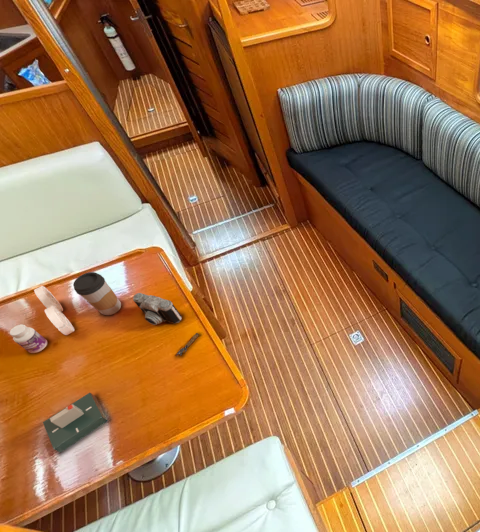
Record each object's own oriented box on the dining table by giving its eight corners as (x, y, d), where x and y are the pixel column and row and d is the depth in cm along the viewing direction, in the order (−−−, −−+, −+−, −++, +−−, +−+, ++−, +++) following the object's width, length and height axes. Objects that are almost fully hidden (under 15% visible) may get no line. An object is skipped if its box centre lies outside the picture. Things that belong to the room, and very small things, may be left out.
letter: (50, 302, 138) (30, 284, 131) (57, 298, 139) (38, 280, 132) (70, 340, 128) (50, 323, 120) (78, 336, 129) (58, 318, 121)
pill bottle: (31, 356, 124) (9, 340, 117) (26, 346, 126) (4, 330, 119) (50, 345, 126) (29, 329, 119) (45, 336, 129) (24, 319, 122)
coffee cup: (111, 296, 140) (87, 268, 129) (130, 302, 138) (106, 274, 127) (92, 314, 135) (65, 286, 124) (111, 321, 133) (85, 293, 122)
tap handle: (62, 428, 106) (50, 421, 103) (60, 424, 107) (48, 418, 103) (84, 413, 109) (73, 407, 105) (82, 410, 109) (71, 403, 106)
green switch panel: (60, 452, 105) (53, 449, 102) (49, 426, 109) (42, 421, 107) (108, 420, 111) (101, 416, 108) (95, 396, 115) (89, 391, 113)
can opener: (197, 334, 129) (196, 332, 129) (202, 336, 129) (201, 335, 128) (175, 355, 124) (173, 353, 123) (180, 358, 123) (178, 356, 123)
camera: (135, 320, 133) (119, 302, 126) (149, 305, 137) (135, 287, 130) (171, 332, 130) (157, 314, 123) (184, 316, 134) (172, 298, 127)
